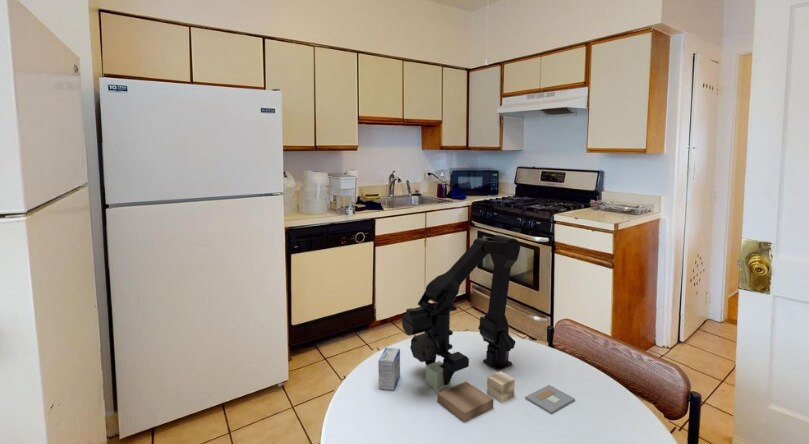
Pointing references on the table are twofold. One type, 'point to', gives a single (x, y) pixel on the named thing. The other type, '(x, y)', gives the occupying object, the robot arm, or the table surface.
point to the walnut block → (465, 401)
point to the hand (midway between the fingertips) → (438, 379)
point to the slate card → (550, 399)
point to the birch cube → (500, 386)
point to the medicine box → (389, 368)
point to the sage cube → (435, 375)
